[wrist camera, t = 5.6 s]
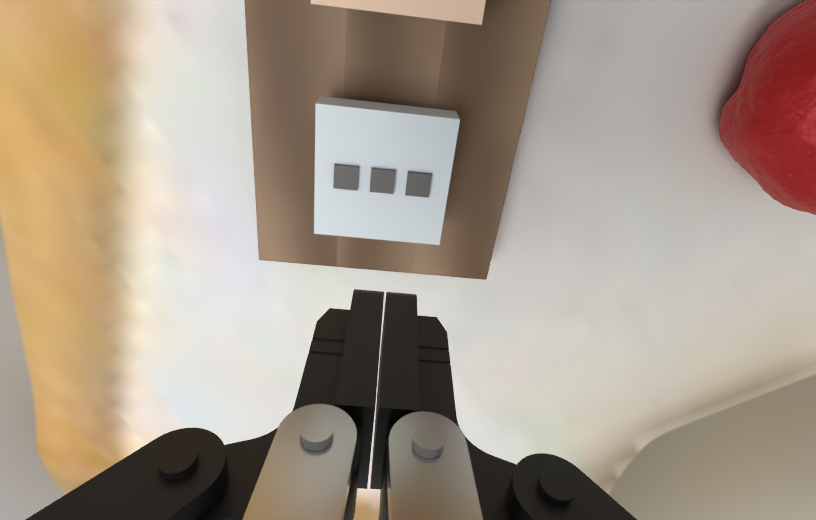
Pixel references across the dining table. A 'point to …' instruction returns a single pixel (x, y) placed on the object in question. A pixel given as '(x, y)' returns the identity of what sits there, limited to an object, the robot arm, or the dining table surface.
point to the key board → (393, 84)
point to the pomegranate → (778, 110)
